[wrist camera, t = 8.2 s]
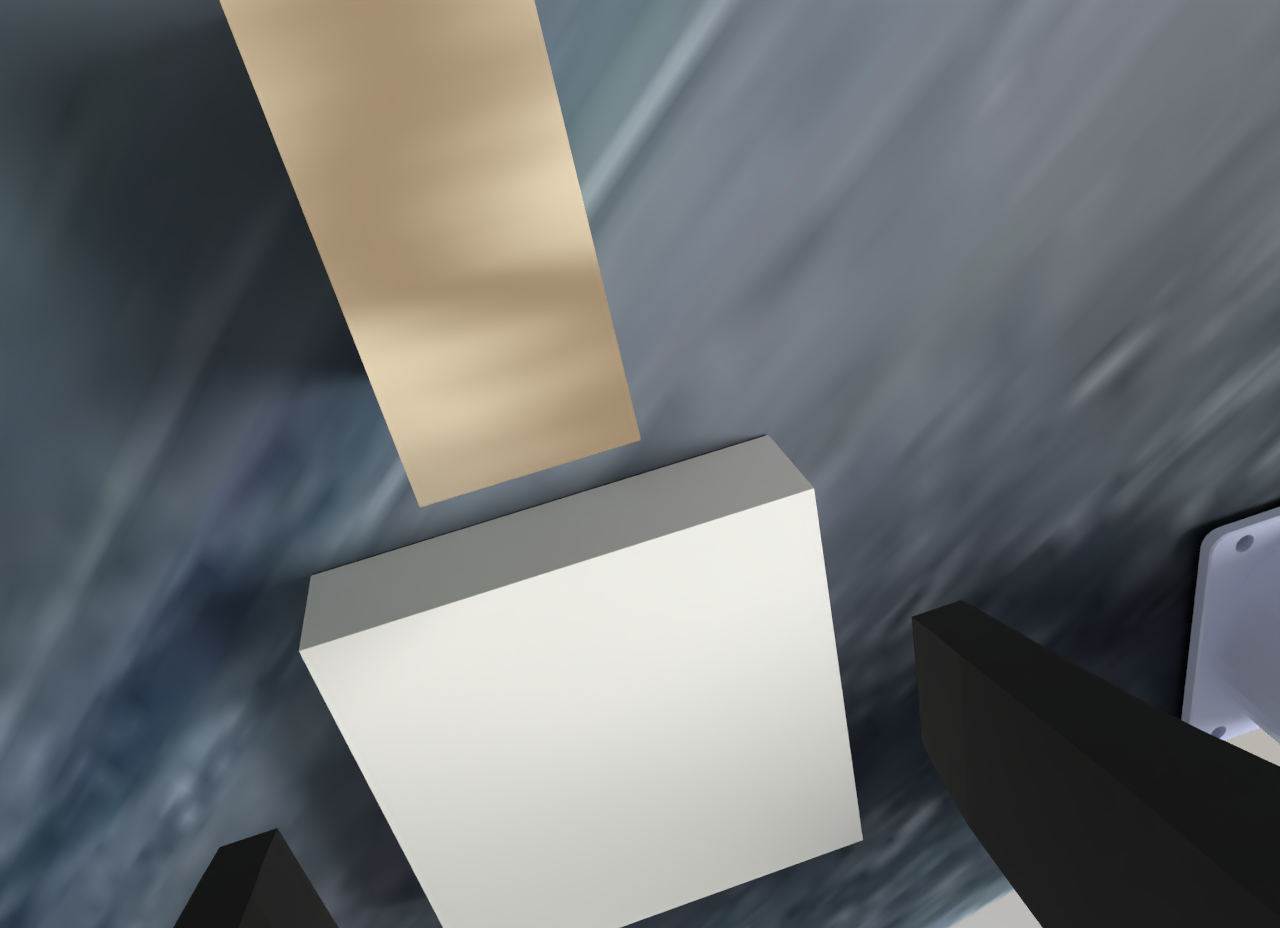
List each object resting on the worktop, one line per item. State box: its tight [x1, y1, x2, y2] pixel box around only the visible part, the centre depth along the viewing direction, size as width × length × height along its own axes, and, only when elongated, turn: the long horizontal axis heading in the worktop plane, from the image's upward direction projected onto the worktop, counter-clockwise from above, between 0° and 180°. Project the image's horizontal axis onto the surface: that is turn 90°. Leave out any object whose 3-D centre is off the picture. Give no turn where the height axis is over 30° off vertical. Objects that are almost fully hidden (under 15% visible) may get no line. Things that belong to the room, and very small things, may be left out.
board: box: [299, 435, 863, 928], centre depth 20 cm, size 10×10×2 cm
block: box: [220, 0, 641, 507], centre depth 13 cm, size 3×6×6 cm
